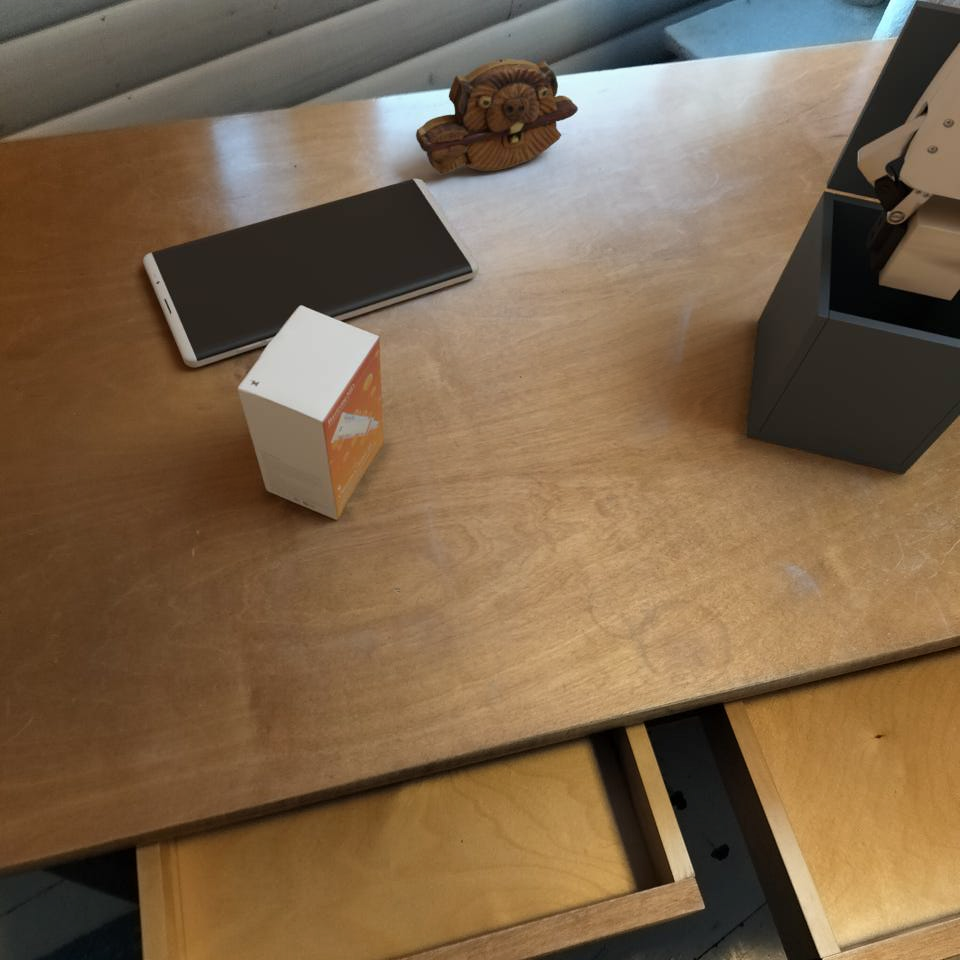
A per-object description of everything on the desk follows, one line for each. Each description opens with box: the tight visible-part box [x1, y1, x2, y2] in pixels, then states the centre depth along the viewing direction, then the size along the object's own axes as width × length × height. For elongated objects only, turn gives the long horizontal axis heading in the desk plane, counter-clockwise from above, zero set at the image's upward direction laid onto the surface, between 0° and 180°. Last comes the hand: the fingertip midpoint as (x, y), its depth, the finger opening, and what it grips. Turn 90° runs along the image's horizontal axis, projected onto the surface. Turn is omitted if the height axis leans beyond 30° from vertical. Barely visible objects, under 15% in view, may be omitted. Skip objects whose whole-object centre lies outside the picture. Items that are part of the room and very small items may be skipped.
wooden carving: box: [415, 58, 579, 175], centre depth 82 cm, size 16×5×10 cm, turn 118°
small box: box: [237, 305, 385, 521], centre depth 61 cm, size 8×6×13 cm
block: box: [879, 194, 960, 300], centre depth 58 cm, size 5×5×6 cm
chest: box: [745, 190, 960, 475], centre depth 67 cm, size 13×13×15 cm
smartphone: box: [142, 178, 480, 368], centre depth 76 cm, size 13×27×2 cm, turn 117°
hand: (916, 263), depth 60 cm, fingers closed on block, 5 cm apart
